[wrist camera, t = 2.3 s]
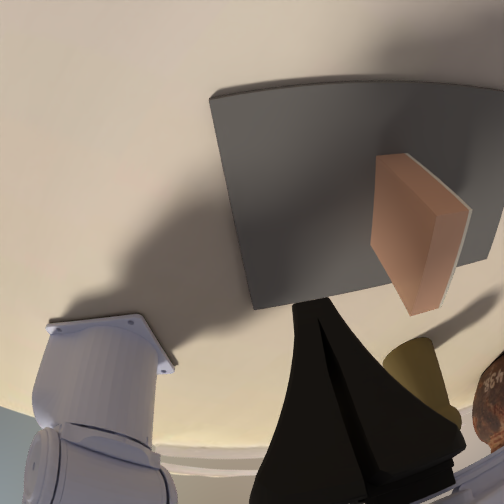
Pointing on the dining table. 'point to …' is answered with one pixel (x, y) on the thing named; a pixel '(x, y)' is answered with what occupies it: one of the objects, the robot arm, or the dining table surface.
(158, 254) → the dining table surface
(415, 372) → the cork
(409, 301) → the tile
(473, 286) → the dining table surface
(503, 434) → the jug
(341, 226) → the mat
